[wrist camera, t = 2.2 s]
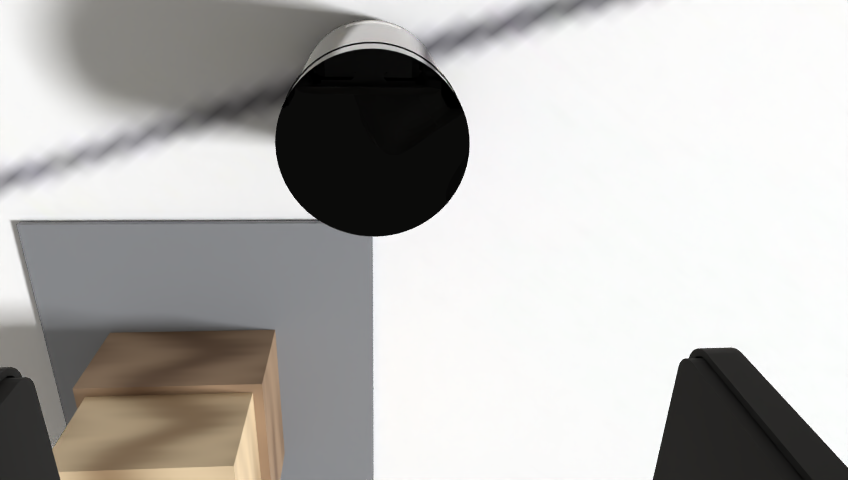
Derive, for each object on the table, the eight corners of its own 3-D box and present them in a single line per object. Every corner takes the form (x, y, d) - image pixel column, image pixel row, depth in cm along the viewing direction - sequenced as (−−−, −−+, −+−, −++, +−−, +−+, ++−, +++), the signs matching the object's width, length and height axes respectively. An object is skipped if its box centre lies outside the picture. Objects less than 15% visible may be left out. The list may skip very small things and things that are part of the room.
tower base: (275, 329, 36) (262, 384, 32) (284, 453, 40) (274, 517, 36) (109, 332, 36) (72, 388, 31) (135, 458, 39) (104, 524, 35)
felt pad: (372, 220, 35) (372, 223, 34) (373, 475, 42) (373, 480, 42) (20, 221, 33) (16, 224, 33) (85, 486, 40) (83, 491, 40)
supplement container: (311, 160, 33) (290, 245, 24) (292, 22, 30) (258, 55, 21) (442, 149, 33) (473, 228, 24) (435, 11, 30) (467, 39, 21)
